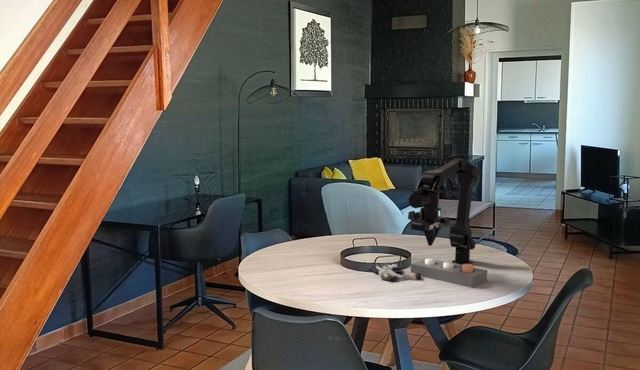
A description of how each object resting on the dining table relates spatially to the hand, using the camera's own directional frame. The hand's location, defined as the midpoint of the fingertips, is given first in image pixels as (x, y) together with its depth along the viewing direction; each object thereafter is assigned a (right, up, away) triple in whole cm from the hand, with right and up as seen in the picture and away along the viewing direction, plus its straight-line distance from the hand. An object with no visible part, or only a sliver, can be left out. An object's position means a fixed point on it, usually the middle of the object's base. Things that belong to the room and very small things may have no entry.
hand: (430, 245), depth 235 cm
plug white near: (0, -10, +1) cm, 10 cm away
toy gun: (-14, -12, 0) cm, 18 cm away
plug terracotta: (+12, -11, -10) cm, 19 cm away
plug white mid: (+6, -11, -4) cm, 13 cm away
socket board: (+6, -12, -4) cm, 14 cm away
